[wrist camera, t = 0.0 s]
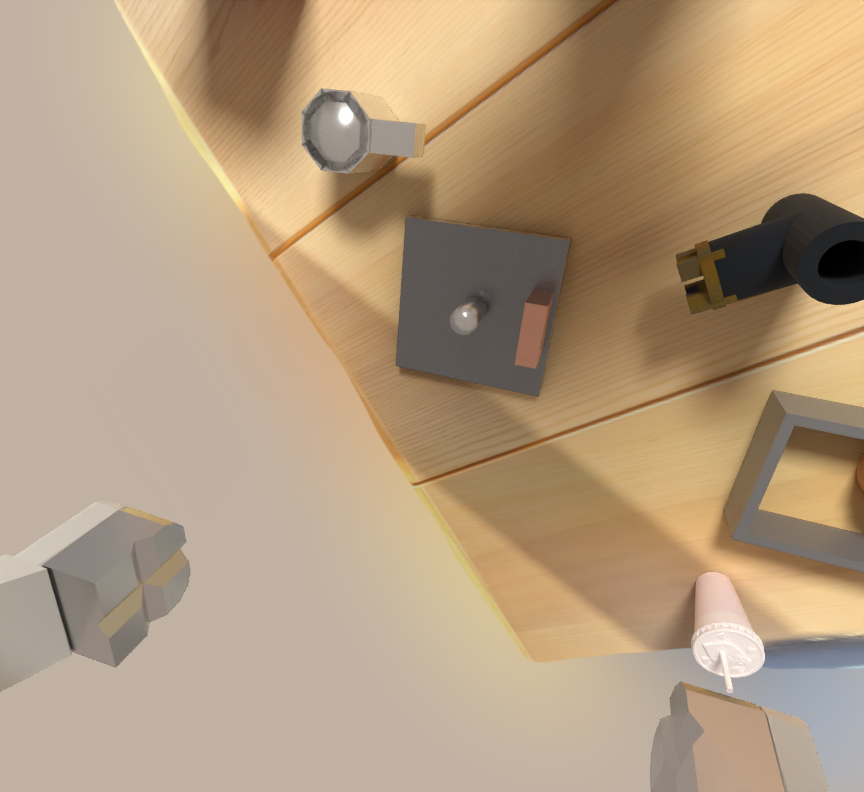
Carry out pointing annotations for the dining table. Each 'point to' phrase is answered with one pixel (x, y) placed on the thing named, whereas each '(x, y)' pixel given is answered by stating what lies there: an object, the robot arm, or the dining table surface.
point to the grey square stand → (479, 302)
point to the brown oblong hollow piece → (860, 472)
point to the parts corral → (759, 470)
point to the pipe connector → (781, 256)
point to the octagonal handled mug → (356, 132)
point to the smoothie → (723, 631)
